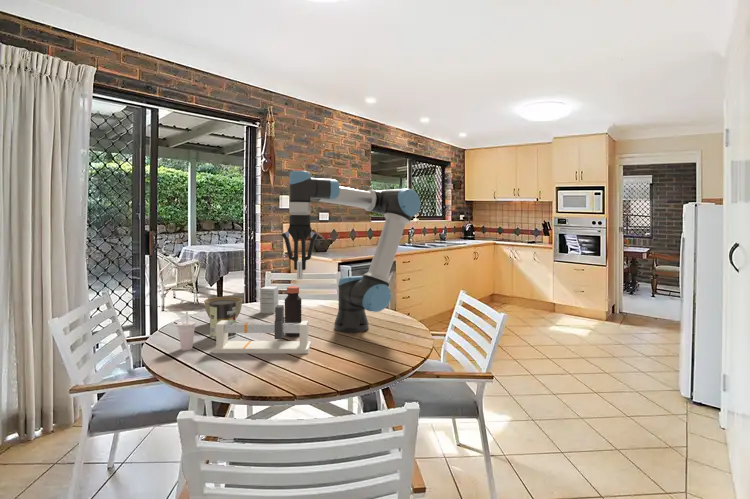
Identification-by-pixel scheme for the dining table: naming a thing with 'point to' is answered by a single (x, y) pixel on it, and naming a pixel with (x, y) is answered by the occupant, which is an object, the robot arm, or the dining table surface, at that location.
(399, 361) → the dining table surface
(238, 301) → the planter bowl
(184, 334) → the smoothie
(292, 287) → the bottle
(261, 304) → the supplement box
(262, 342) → the slider rail stand
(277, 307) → the dark grey tall block
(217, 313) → the coffee can
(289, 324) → the pipe
